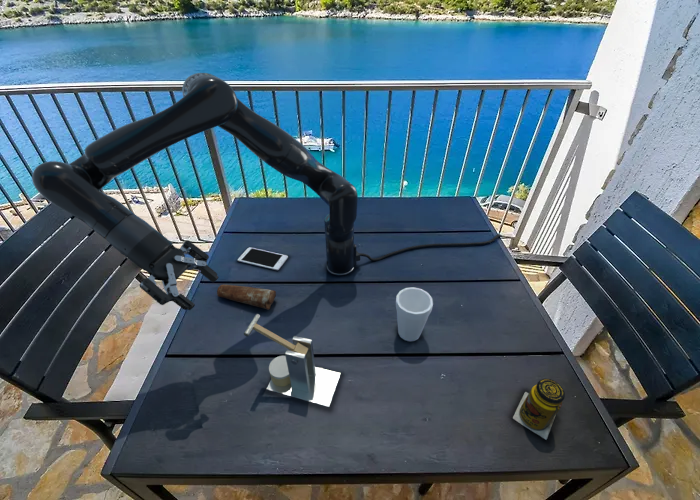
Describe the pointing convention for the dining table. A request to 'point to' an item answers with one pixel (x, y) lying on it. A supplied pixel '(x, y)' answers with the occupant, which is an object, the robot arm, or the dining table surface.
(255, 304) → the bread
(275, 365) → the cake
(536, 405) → the condiment
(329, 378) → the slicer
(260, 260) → the cell phone
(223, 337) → the dining table surface
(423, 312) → the foam cup
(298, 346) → the wood and metal t-shape
